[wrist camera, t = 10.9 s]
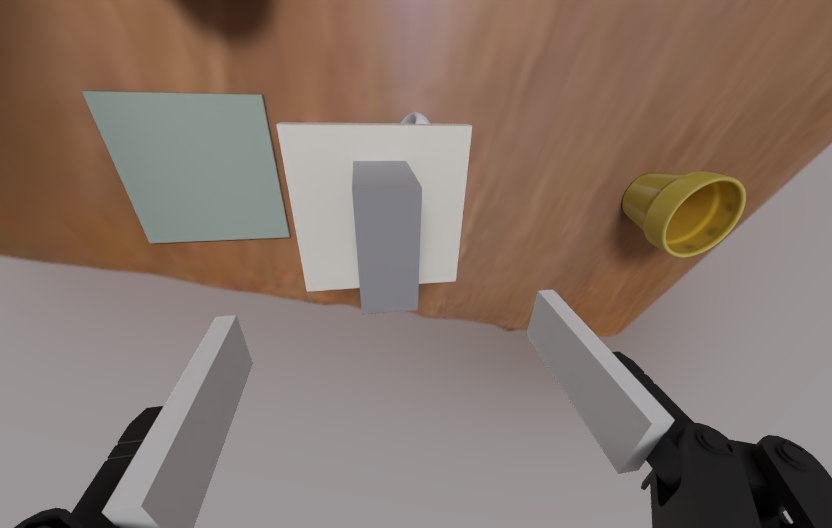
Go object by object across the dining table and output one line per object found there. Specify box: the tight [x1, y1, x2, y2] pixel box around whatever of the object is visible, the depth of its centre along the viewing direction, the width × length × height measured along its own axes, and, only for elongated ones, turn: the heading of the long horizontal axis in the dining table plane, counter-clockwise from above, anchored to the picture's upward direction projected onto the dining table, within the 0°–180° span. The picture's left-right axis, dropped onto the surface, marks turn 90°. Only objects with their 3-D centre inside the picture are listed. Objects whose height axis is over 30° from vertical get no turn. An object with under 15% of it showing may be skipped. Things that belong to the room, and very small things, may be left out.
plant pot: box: [622, 172, 746, 257], centre depth 42 cm, size 10×10×10 cm
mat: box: [82, 91, 290, 243], centre depth 35 cm, size 16×16×1 cm
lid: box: [276, 122, 472, 314], centre depth 24 cm, size 14×14×8 cm
